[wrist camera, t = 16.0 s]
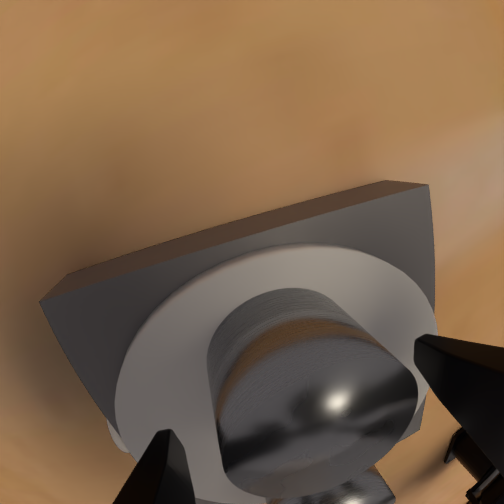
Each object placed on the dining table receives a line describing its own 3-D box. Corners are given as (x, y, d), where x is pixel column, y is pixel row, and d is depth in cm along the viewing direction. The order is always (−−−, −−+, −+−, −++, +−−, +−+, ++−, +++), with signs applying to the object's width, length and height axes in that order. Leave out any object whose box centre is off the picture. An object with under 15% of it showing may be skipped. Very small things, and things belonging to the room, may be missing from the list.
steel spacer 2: (357, 466, 13) (389, 517, 9) (270, 498, 12) (290, 556, 8) (356, 413, 11) (402, 477, 8) (245, 454, 11) (268, 531, 7)
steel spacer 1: (354, 382, 11) (408, 450, 7) (231, 426, 10) (253, 513, 6) (341, 266, 9) (424, 321, 6) (184, 317, 9) (186, 412, 5)
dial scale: (396, 403, 18) (427, 438, 14) (178, 479, 16) (181, 526, 12) (386, 180, 13) (445, 186, 9) (54, 278, 11) (13, 318, 8)
